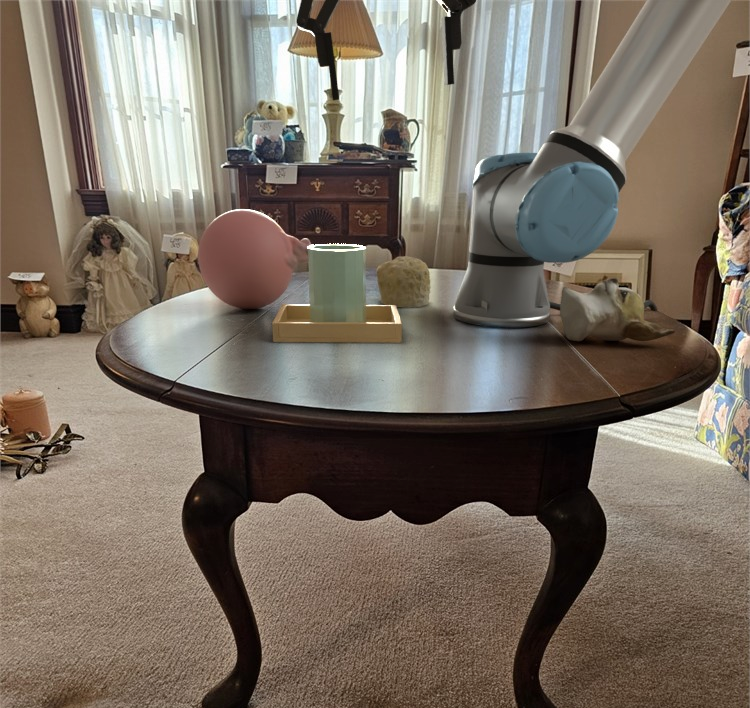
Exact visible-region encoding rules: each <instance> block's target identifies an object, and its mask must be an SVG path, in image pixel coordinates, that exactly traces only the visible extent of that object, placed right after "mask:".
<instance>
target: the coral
mask: <svg viewBox="0 0 750 708" xmlns="http://www.w3.org/2000/svg"><path fill="white" fill-rule="evenodd" d="M430 275H431V274H430V269H429V267H428V265H427V263H426V262H424V261H423V260H422V259H420V258H416V257H412V256H406V255H405V256H404V255H403V256H397V257H395V258H394V259H391V260H388V261H385V262H383V263H381V264H380V265H378V267H377V268H376V281H377V286H378V290H379V291H378V292H379V295H380V302H381V304H382V305H396V307H397V308H405V309H408V308H419V307H425V306H426V305H428V304H429V301H430V294H431V278H430V277H431V276H430Z"/></svg>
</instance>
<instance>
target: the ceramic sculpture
mask: <svg viewBox="0 0 750 708" xmlns="http://www.w3.org/2000/svg"><path fill="white" fill-rule="evenodd" d="M619 286H620V285H619V280H618V279H617V278H616V277H612V278H609V279H604V280H602V281H601V282H599V283H597V284H596V285H595V286H594V288H593V289H592V290H591V291H589V292H584V293H583V292H578V291H576V290H574V289H571V288H568V287H567V286H563V287H562V289H561V297H560V304H561V305H560V311H559V316H560V319H561V322H562V327H563V331H564V335H565V337H566V338H567V339H568V341H572V342H581V341H583V340H585V338H587V337H593V338H597V339H599V340H602V341H605V342H620V341H624V340H627V339H629V340H633V341H636V342H637V341H638V342H650V341H654V340H657V339H661V338H664V337H667V336H671V335H673V334H675V332H676V330H675V329H671V328H663V327H662V326H661V325H659V324H658V323H655V322H653V321H651V322H650V321H647V320H645V318H644V313H645V309H644V301H643V299H642V296H640V294H639V293H637V291H635V290H633V289H631V288H628V287H619Z"/></svg>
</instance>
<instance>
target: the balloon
mask: <svg viewBox="0 0 750 708" xmlns="http://www.w3.org/2000/svg"><path fill="white" fill-rule="evenodd" d="M313 245H314V244H312V243H311V240H310V239H309V238H306V237H305V238H302V239H298V238H297V237H295V236H293V235H289V234H287V233H286V232H285V231H284V229H283V228H282V226H280V225H279V224H278V223H277V222H276V221H275V219H272V218H271V217H269V216H268V215H266V214H264V213H262V212H260V211H257V210H253V209H245V208H239V209H233V210H229V211H227V212H223V213H222V214H220V215H219V216H217V217H216V218H214V219H213V220H212V221H211V222H210V223H209V224H208V226H207V227H206V228H205V230H204V231H203V233H202V235H201V238H200V240H199V244H198V252H197V259H198V260H197V262H198V268H199V271H200V274H201V277H202V279H203V280H204V284H205V286H207V288H208V289H209V290H210V292H211V293H212V294H213V295H214V296H215V297H216V298H218V299H219V300H220V301H222V302H223V303H225V304H226V305H229V306H231V307H233V308H237V309H242V310H256V309H261V308H264V307H267V306H269V305H272V303H275V301H277V300H278V299H279V298H280V297H281V296H282V295H283V294H284V293H285V292H286V290H287V288H288V287H289V285H290V283H291V281H292V278H293V275H294V270H295V269H296V268H297V266H299V265H300V264H308V247H309V246H313Z"/></svg>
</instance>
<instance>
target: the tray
mask: <svg viewBox="0 0 750 708" xmlns="http://www.w3.org/2000/svg"><path fill="white" fill-rule="evenodd" d="M399 313H400V312H399V310H398V307H396V305H385V304H366V322H310V304H281V305H280V307H279V308H278V311H277V313H276V315H275V317H274V319H273V321H272V323H271V326H272V327H271V328H272V342H273V343H351V344H352V343H355V344H356V343H357V344H359V343H362V344H363V343H364V344H365V343H368V344H369V343H372V344H373V343H375V344H376V343H377V344H380V343H381V344H388V343H391V344H392V343H393V344H395V343H396V344H401V343H402V337H403V336H402V335H403V333H402V332H403V323H402V320H401V317H400V314H399Z"/></svg>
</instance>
